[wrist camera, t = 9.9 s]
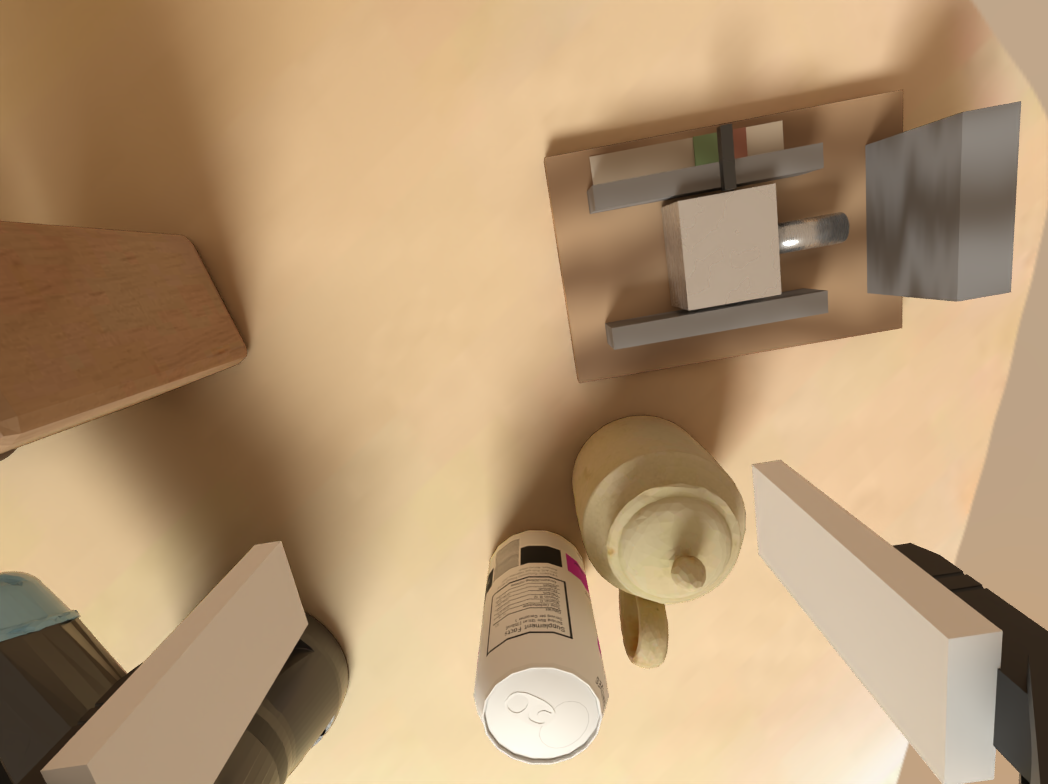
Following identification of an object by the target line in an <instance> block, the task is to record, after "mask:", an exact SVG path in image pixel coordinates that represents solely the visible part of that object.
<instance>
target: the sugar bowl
mask: <svg viewBox="0 0 1048 784" xmlns="http://www.w3.org/2000/svg"><path fill="white" fill-rule="evenodd" d="M572 487H573V494H574V500H575V507H576V513H577V518H578V523H579V528H580V532H581V535H582V539H583V543H584V546H585V549H586V552H587V555H588V557H589V560H590V561H591V563H592V564H593V566H594V567H595V569H596V570H597V571H598V573H599V574H600V575H601V576H602V577H603V578H604V579H606V580H607V581H608V582H609V583H611V584H612V585H614V586H615V587H617V588H619V611H620V621H621V631H622V635H623V642H624V646H625V650H626V653H627V655H628V657H629V659H630V661H631V662H632V663H633V664H635V665H637V666H639V667H641V668H646V669H650V668H655V667H659V666H660V665H661V664H662V663H663V662H664V660H665V657H666V654H667V648H668V621H667V616H666V610H665V605H664V604H677V603H683V602H688V601H691V600H694V599H697V598H699V597H701V596H704V595H705V594H707V593H709V592H710V591H712V590H713V589H715V588H716V587H718V586H719V585H720V584H721V583H722V582H723V581H724V580H725V579H726V577H727V576H728V575H729V573H730V572H731V570H732V569H733V567H734V565H735V563H736V561H737V559H738V555H739V552H740V549H741V545H742V542H743V538H744V534H745V525H746V512H745V507H744V502H743V499H742V496H741V494H740V493H739V491H738V489H737V487H736V485H735V483H734V482H733V480H732V479H731V478H730V476H729V475H728V474H727V473H726V472H725V471H724V469H723V468H722V467H721V466H720V465H719V464H718V463H717V462H716V460H715V459H714V458H713V457H712V456H711V455H710V454H709V453H708V452H707V451H706V450H705V449H704V448H703V447H702V446H701V445H700V444H699V443H698V442H697V441H695V440H694V439H693V438H692V437H691V436H690V435H689V434H688V433H687V432H686V431H685V430H683V429H682V428H681V427H679V426H678V425H676V424H674V423H672V422H670V421H668V420H665V419H662V418H659V417H654V416H630V417H625V418H622V419H618V420H616V421H613V422H610V423H609V424H607V425H605V426H603V427H602V428H600V429H599V430H598V431H597V432H595V433H594V434H593V435H592V436H591V437H590V438H589V439H588V440H587V441H586V443H585V444H584V445H583V447H582V448H581V450H580V452H579V454H578V456H577V458H576V461H575V465H574V469H573V474H572Z"/></svg>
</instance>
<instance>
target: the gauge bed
mask: <svg viewBox="0 0 1048 784" xmlns="http://www.w3.org/2000/svg"><path fill="white" fill-rule="evenodd" d="M1020 112H1021V101H1020V102H1015V103H1009V104H1004V105H998V106H993V107H988V108H982V109H977V110H972V111H966V112H962V113H959V114H956V115H953V116H950V117H947V118H944V119H941V120H938V121H935V122H932V123H929V124H927V125H924V126H921V127H918V128H915V129H912V130H909V131H906V132H903V90H898V91H893V92H888V93H882V94H877V95H872V96H867V97H861V98H856V99H851V100H846V101H840V102H835V103H830V104H824V105H819V106H814V107H809V108H803V109H798V110H793V111H788V112H782V113H777V114H772V115H767V116H761V117H756V118H751V119H745V120H740V121H735V122H730V123H732V128H733V143H734V157H735V171H736V185H737V188H735V189H732V190H726V191H721V181H720V168H719V155H718V142H717V129H716V128H717V127H719V126H720V125H725V124H730V123H724V124H719V125H714V126H709V127H703V128H698V129H693V130H687V131H682V132H677V133H672V134H666V135H661V136H656V137H651V138H645V139H640V140H635V141H629V142H624V143H619V144H614V145H608V146H603V147H598V148H593V149H587V150H582V151H577V152H572V153H566V154H561V155H556V156H550V157H545V159H544V166H545V172H546V179H547V185H548V192H549V198H550V205H551V211H552V218H553V224H554V231H555V237H556V243H557V250H558V256H559V263H560V269H561V276H562V282H563V289H564V295H565V302H566V308H567V315H568V321H569V328H570V334H571V341H572V347H573V354H574V360H575V366H576V373H577V379H578V381H579V383H583V382H589V381H595V380H601V379H607V378H613V377H618V376H624V375H630V374H636V373H642V372H648V371H653V370H659V369H665V368H671V367H677V366H683V365H689V364H694V363H700V362H706V361H712V360H718V359H724V358H730V357H735V356H741V355H747V354H753V353H759V352H765V351H771V350H776V349H782V348H788V347H794V346H800V345H806V344H812V343H817V342H823V341H829V340H835V339H841V338H847V337H853V336H858V335H864V334H870V333H876V332H882V331H888V330H894V329H899V328H902V296H903V297H914V298H925V299H936V300H947V301H963V300H969V299H975V298H980V297H986V296H992V295H998V294H1004V293H1009V292H1011V279H1012V261H1013V242H1014V223H1015V205H1016V186H1017V168H1018V149H1019V131H1020ZM774 183H776V200H777V218H778V223H782V222H788V221H793V220H799V219H804V218H810V217H815V216H821V215H826V214H832V213H837V212H843V213H844V214H845V215H846V216H847V218H848V220H849V234H848V237H847V239H846V240H845V241H844V242H843V243H839V244H834V245H828V246H822V247H817V248H811V249H806V250H800V251H794V252H789V253H783V254H779V256H780V275H781V295H775V296H769V297H764V298H758V299H752V300H747V301H741V302H735V303H729V304H724V305H718V306H712V307H707V308H701V309H695V310H689V311H688V310H685V309H681V308H678V307H675V306H671V297H670V287H669V278H668V268H667V259H666V249H665V240H664V230H663V221H662V211H661V208H662V207H664V206H667V205H670V204H672V203H675V202H677V201H682V200H687V199H693V198H698V197H704V196H709V195H714V194H720V193H725V192H731V191H736V190H742V189H747V188H752V187H758V186H763V185H769V184H774Z"/></svg>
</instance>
